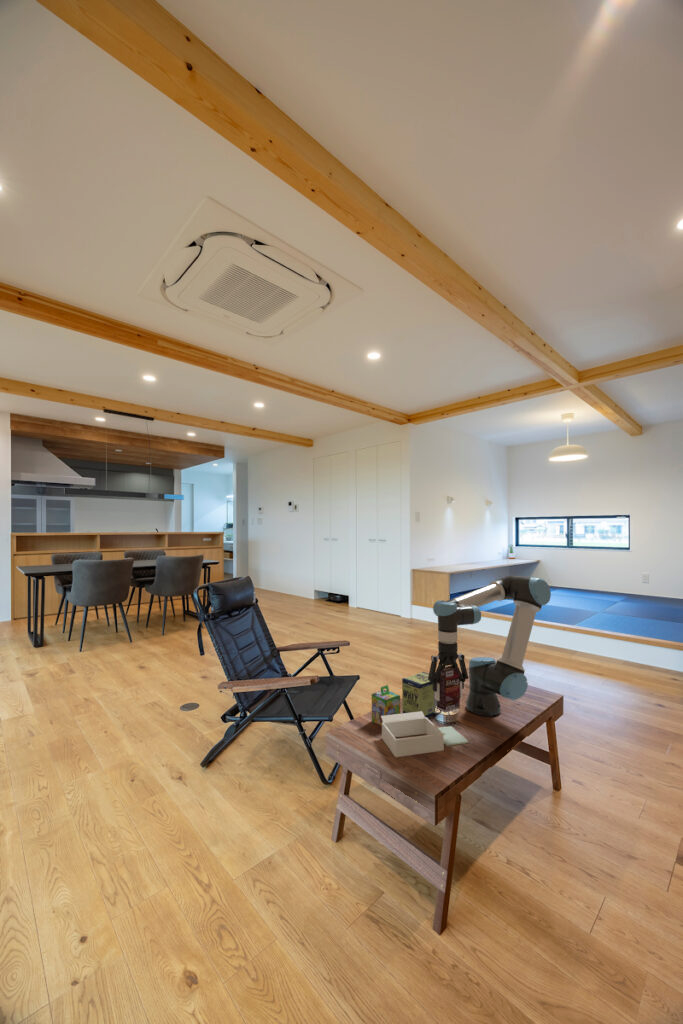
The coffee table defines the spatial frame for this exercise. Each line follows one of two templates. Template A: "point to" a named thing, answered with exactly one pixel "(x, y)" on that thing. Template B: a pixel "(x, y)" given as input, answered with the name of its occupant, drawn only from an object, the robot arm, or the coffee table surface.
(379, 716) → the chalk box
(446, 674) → the supplement box
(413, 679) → the protein box
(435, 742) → the carton
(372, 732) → the coffee table surface
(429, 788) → the coffee table surface
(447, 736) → the felt pad
